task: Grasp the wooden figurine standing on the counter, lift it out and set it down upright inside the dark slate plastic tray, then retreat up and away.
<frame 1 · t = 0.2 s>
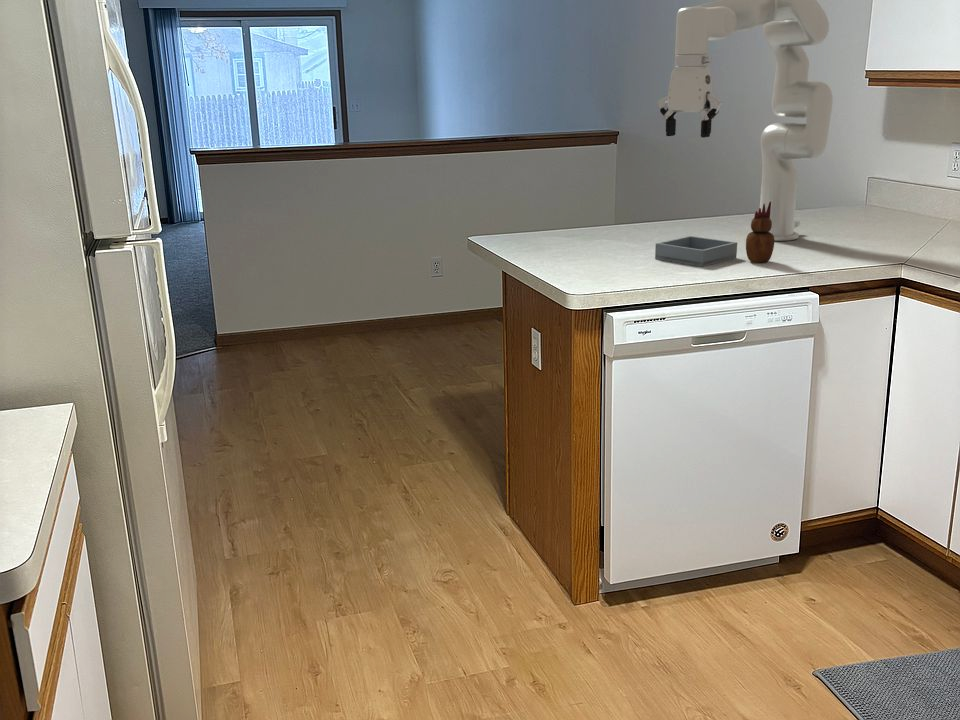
hand: (687, 136, 224), 31 cm above the worktop, tool pointing down, fingers open, 9 cm apart
wooden figurine: (758, 262, 231), on the worktop
slate tray: (695, 258, 236), on the worktop
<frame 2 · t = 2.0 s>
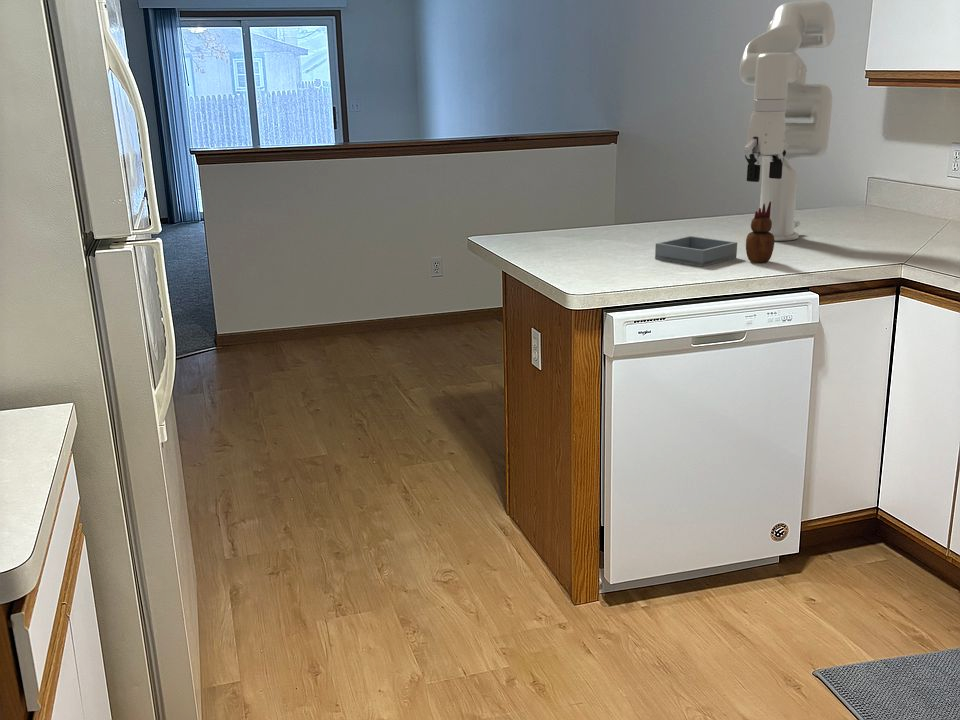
hand: (764, 179, 224), 20 cm above the worktop, tool pointing down, fingers open, 9 cm apart
nothing on the worktop moved.
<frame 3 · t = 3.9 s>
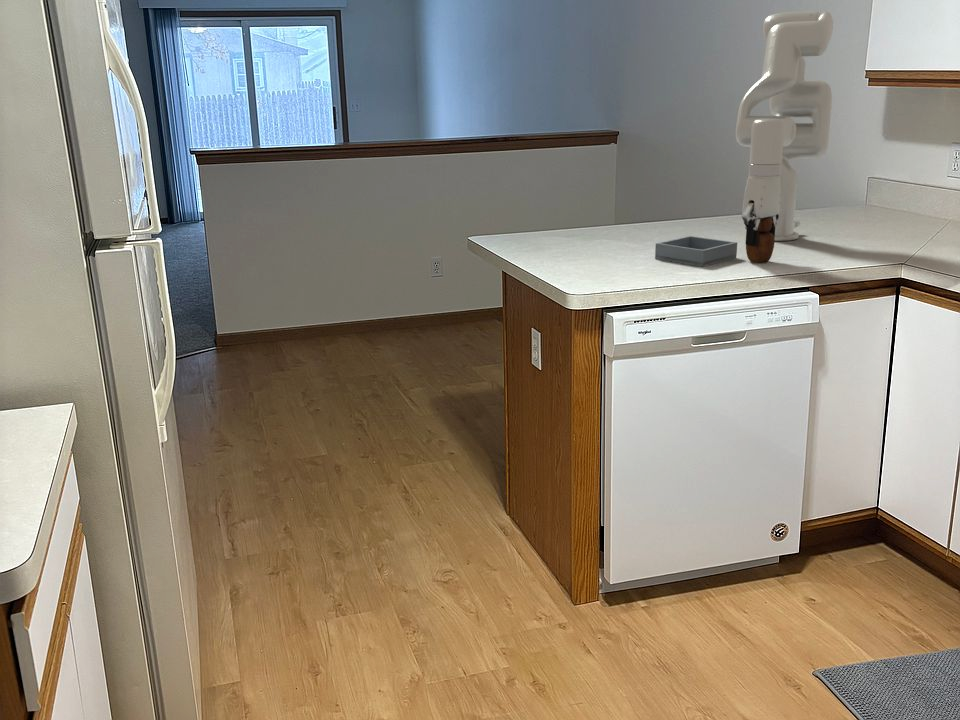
hand: (760, 243, 229), 5 cm above the worktop, tool pointing down, fingers closed on wooden figurine, 6 cm apart
wooden figurine: (758, 262, 231), on the worktop, touching gripper
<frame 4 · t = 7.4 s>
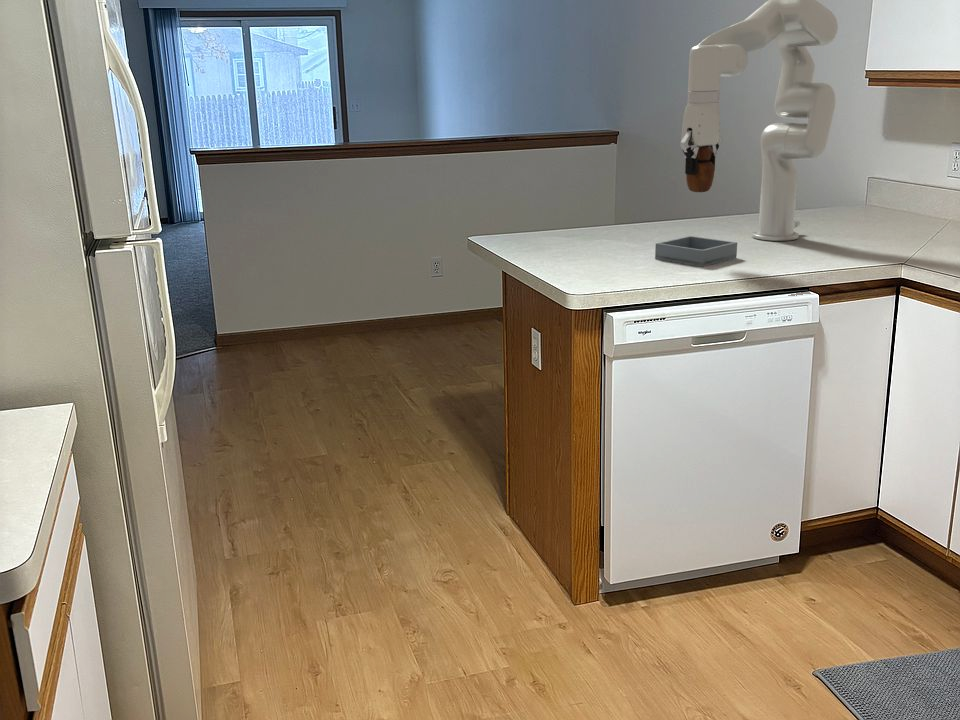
hand: (699, 172, 230), 22 cm above the worktop, tool pointing down, fingers closed on wooden figurine, 6 cm apart
wooden figurine: (699, 192, 231), point 17 cm above the worktop, touching gripper
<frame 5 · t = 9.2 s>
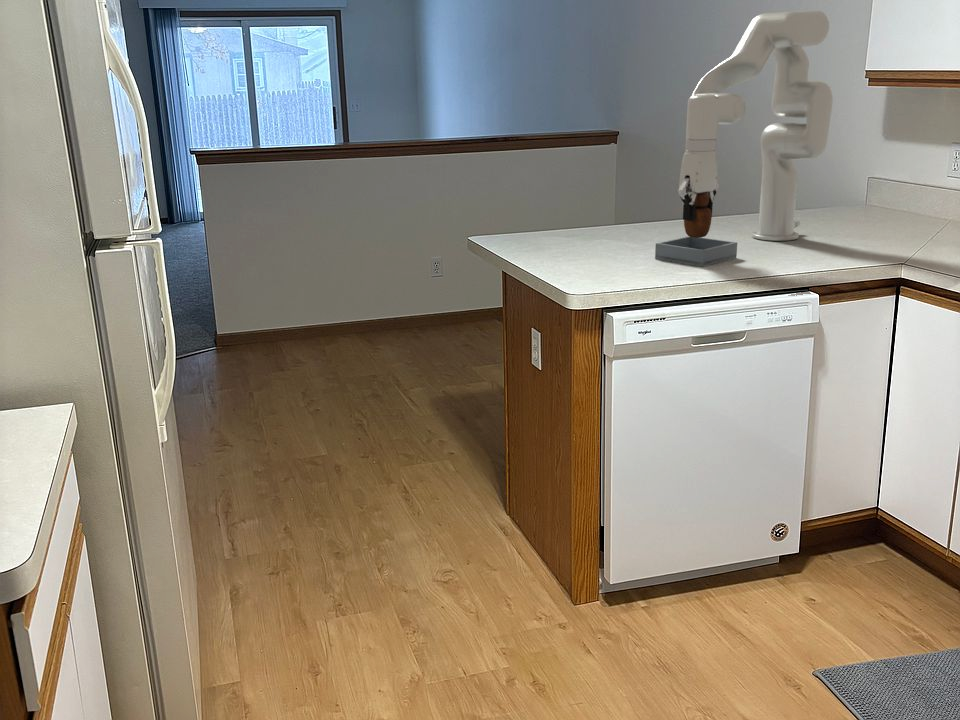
hand: (697, 218, 233), 10 cm above the worktop, tool pointing down, fingers closed on wooden figurine, 6 cm apart
wooden figurine: (696, 237, 235), point 5 cm above the worktop, touching gripper
when the fingers open (8 cm above the worktop, at t = 10.8 s): wooden figurine drops 1 cm, resting on slate tray.
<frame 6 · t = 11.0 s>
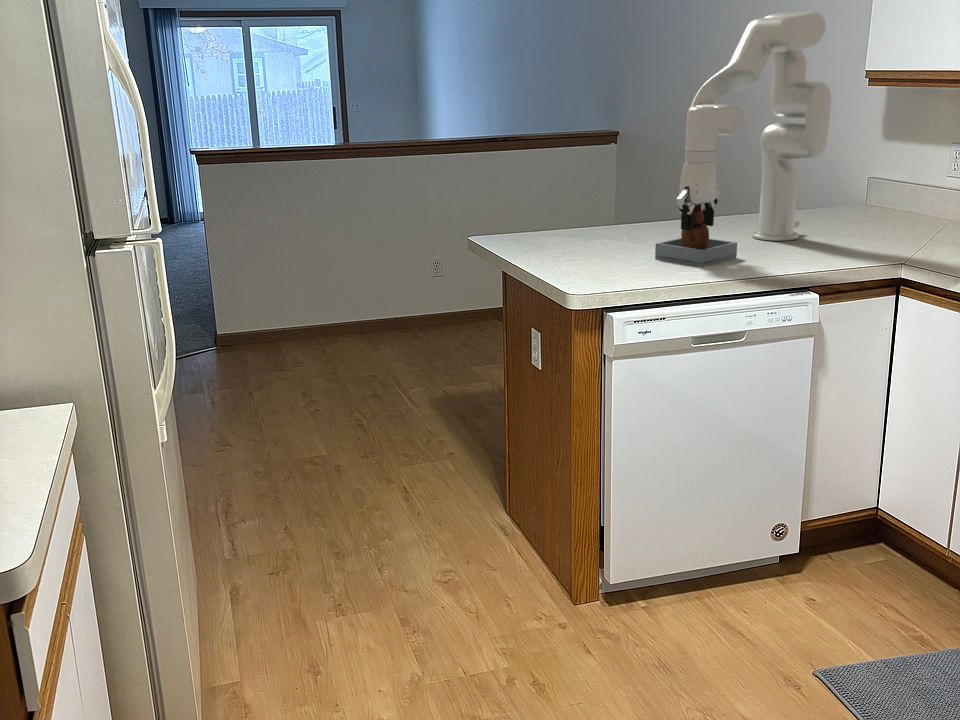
hand: (697, 227, 234), 8 cm above the worktop, tool pointing down, fingers open, 8 cm apart
wooden figurine: (696, 253, 236), point 1 cm above the worktop, touching slate tray
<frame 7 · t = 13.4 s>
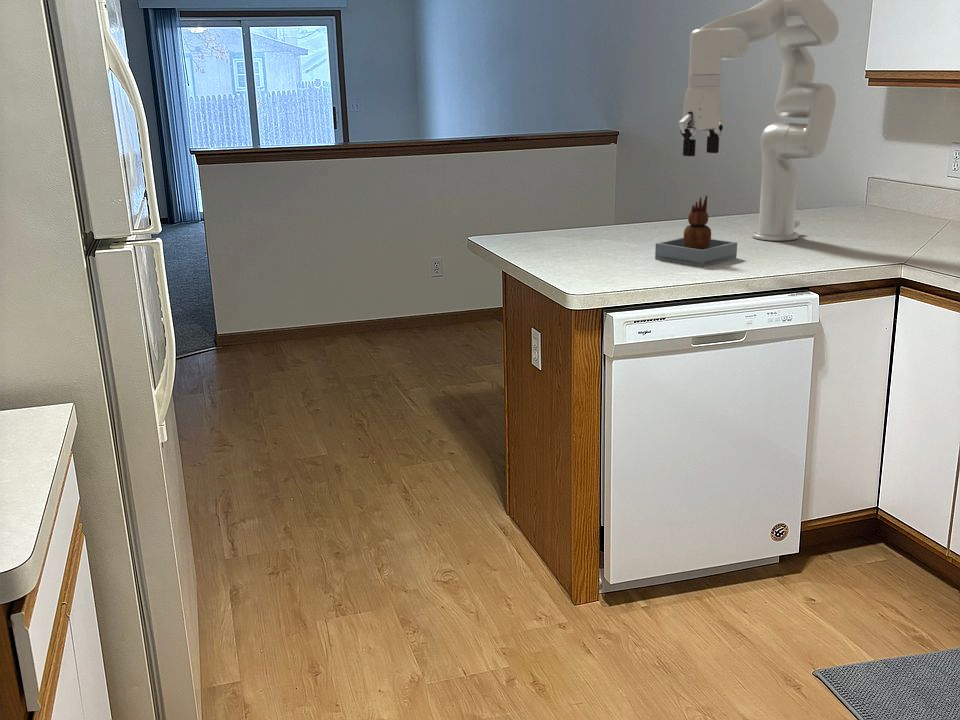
hand: (700, 154, 228), 26 cm above the worktop, tool pointing down, fingers open, 9 cm apart
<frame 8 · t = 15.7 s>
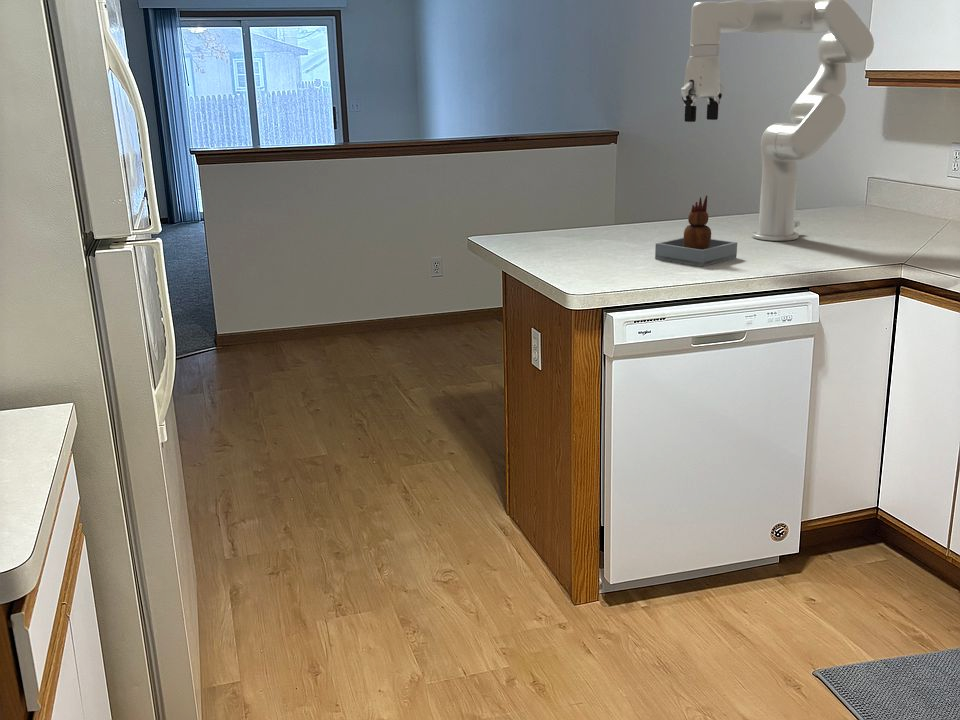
hand: (701, 120, 244), 33 cm above the worktop, tool pointing down, fingers open, 9 cm apart
at the end: wooden figurine inside the target area on the slate tray (0.2 cm from its centre), point 0.8 cm above the slate tray's base; wooden figurine tilted 0°; the gripper is holding nothing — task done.
